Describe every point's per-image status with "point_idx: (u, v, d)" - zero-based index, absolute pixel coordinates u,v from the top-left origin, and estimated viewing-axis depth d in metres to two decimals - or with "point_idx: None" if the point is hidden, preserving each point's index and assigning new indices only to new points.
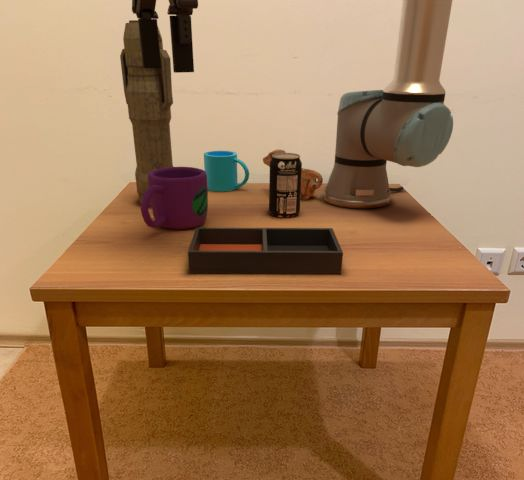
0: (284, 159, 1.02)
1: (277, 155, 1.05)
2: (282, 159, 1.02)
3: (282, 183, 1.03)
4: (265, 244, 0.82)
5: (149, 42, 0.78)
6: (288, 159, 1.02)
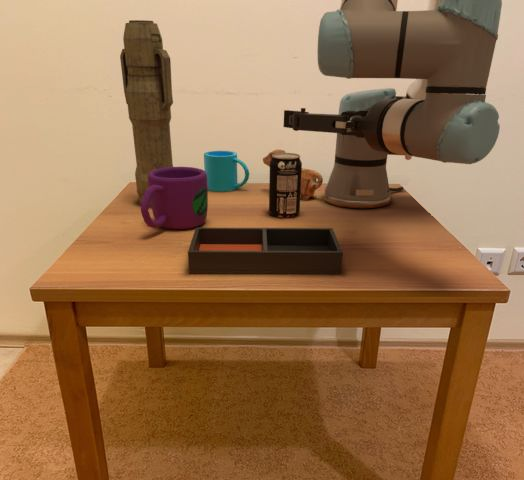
0: (284, 159, 1.02)
1: (277, 155, 1.05)
2: (282, 159, 1.02)
3: (282, 183, 1.03)
4: (265, 244, 0.82)
5: None
6: (288, 159, 1.02)
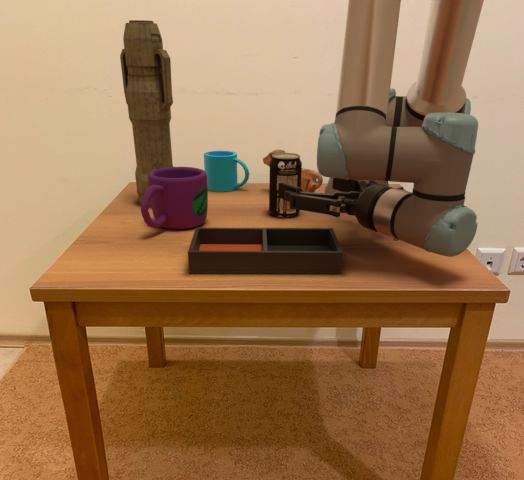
0: (284, 159, 1.02)
1: (277, 155, 1.05)
2: (282, 159, 1.02)
3: None
4: (265, 244, 0.82)
5: None
6: (288, 159, 1.02)
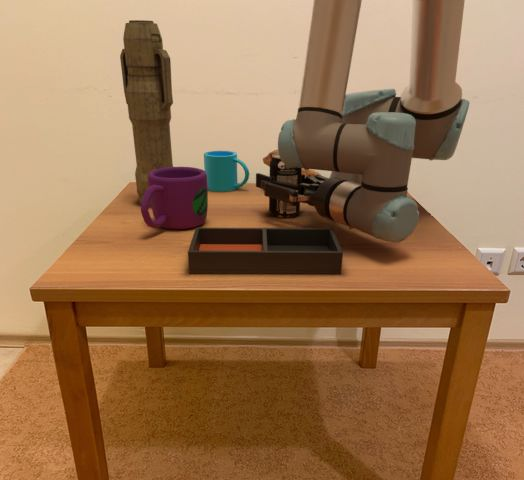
0: None
1: (277, 155, 1.05)
2: None
3: None
4: (265, 244, 0.82)
5: None
6: None
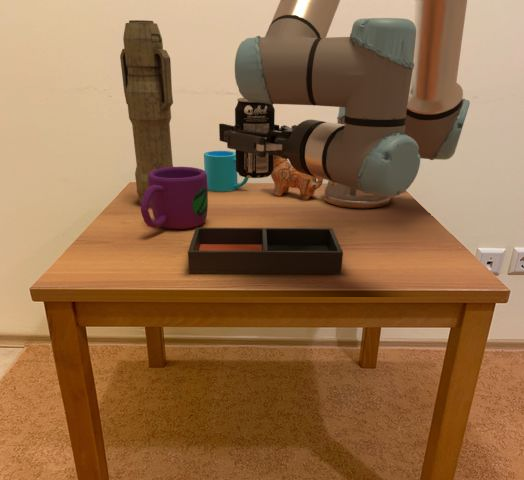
0: (252, 102, 0.81)
1: (244, 100, 0.85)
2: (249, 102, 0.81)
3: None
4: (265, 244, 0.82)
5: None
6: (257, 102, 0.81)
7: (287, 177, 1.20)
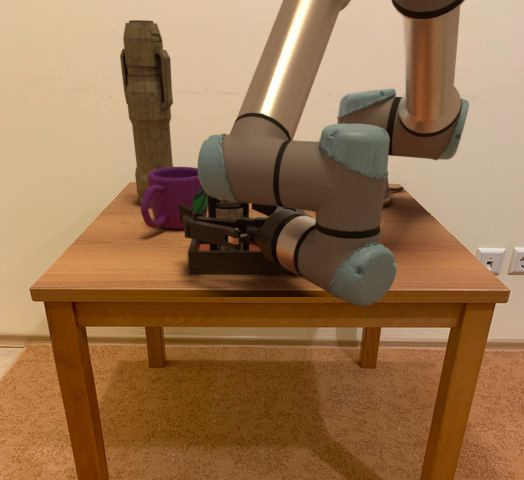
0: None
1: None
2: None
3: (222, 218, 0.79)
4: None
5: None
6: None
7: None
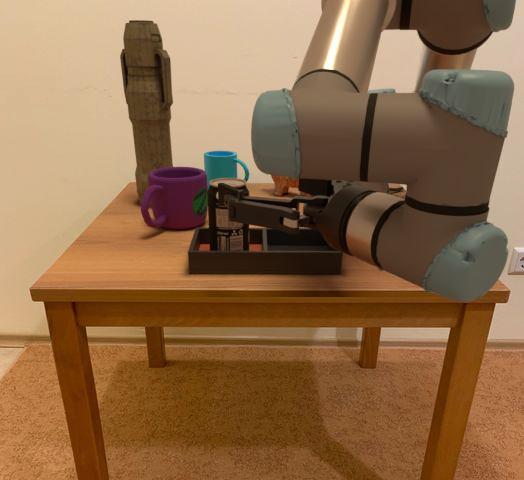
0: None
1: (217, 181, 0.81)
2: None
3: (222, 218, 0.79)
4: (265, 244, 0.82)
5: None
6: None
7: (287, 177, 1.20)
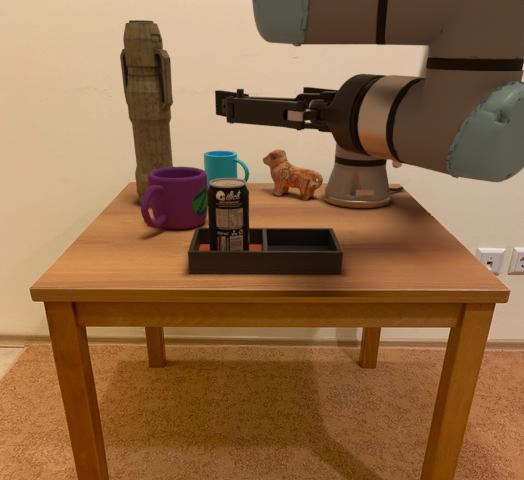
0: (224, 188, 0.77)
1: (217, 181, 0.81)
2: (221, 188, 0.77)
3: (222, 218, 0.79)
4: (265, 244, 0.82)
5: None
6: (229, 188, 0.77)
7: (287, 177, 1.20)
